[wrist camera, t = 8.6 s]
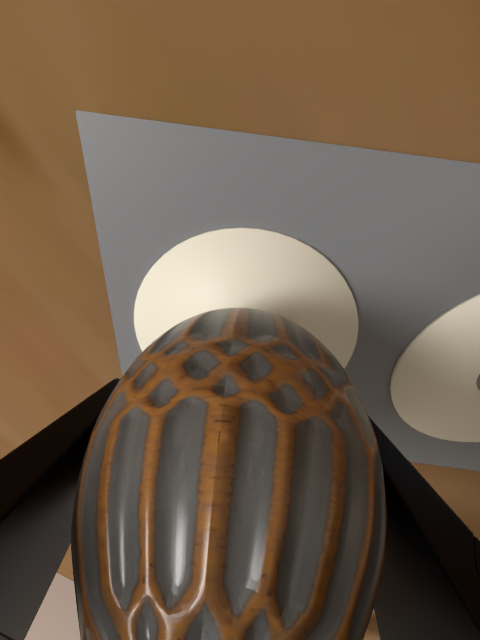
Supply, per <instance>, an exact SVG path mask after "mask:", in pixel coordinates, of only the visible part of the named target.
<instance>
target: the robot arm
mask: <svg viewBox="0 0 480 640" xmlns="http://www.w3.org/2000/svg"><path fill="white" fill-rule="evenodd" d="M119 381H120V379H119V378H116V379H114V380H112V381H111V382H109V383H108V384H106V385H105V386H104V387H102V388H101V389H99V390H98V391H97V392H95V393H94V394H92V395H91V396H89V397H88V398H87V399H85V400H84V401H82V402H81V403H80V404H78V405H77V406H75V407H74V408H72V409H71V410H70V411H68V412H67V413H65V414H64V415H63V416H61V417H60V418H58V419H57V420H55V421H54V422H53V423H51V424H50V425H48V426H47V427H46V428H44V429H43V430H41V431H40V432H38V433H37V434H36V435H34V436H33V437H31V438H30V439H29V440H27V441H26V442H24V443H23V444H22V445H20V446H19V447H17V448H16V449H14V450H13V451H12V452H10V453H9V454H7V455H6V456H5V457H3V458H2V459H0V640H24V639H25V637H26V635H27V632H28V631H29V628H30V626H31V624H32V622H33V620H34V618H35V616H36V614H37V612H38V609H39V608H40V606H41V604H42V601H43V599H44V597H45V595H46V593H47V591H48V589H49V587H50V585H51V583H52V581H53V579H54V576H55V574H56V572H57V570H58V568H59V566H60V564H61V562H62V560H63V558H64V556H65V554H66V552H67V550H68V547H69V545H70V543H71V525H72V516H73V506H74V499H75V494H76V489H77V483H78V479H79V475H80V471H81V467H82V463H83V459H84V456H85V452H86V449H87V446H88V443H89V440H90V437H91V434H92V431H93V429H94V427H95V424H96V422H97V419H98V417H99V415H100V413H101V411H102V409H103V407H104V405H105V404H106V402H107V400H108V398H109V396H110V395H111V393H112V392H113V390H114V389H115V387H116V385H117V384H118V382H119ZM368 417H369V416H368ZM369 420H370V422H371V425H372V428H373V431H374V434H375V437H376V441H377V444H378V448H379V452H380V457H381V462H382V467H383V476H384V485H385V494H386V512H387V534H386V550H385V561H384V568H383V573H382V578H381V583H380V588H379V591H378V594H377V598H376V601H375V604H374V612H375V616H376V621H377V626H378V630H379V635H380V640H480V541H479V540H478V538H477V537H474V535H473V533H472V532H471V531H470V530H469V528H468V527H467V526H466V525H465V524H464V523H463V522H462V521H461V519H460V518H459V517H458V516H457V515H456V514H455V513H454V512H453V510H452V509H451V508H450V507H449V506H448V505H447V504H446V502H445V501H444V500H443V499H442V498H441V497H440V496H439V495H438V493H437V492H436V491H435V490H434V489H433V488H432V487H431V486H430V484H429V483H428V482H427V481H426V480H425V479H424V478H423V477H422V475H421V474H420V473H419V472H418V471H417V470H416V469H415V468H414V466H413V465H412V464H411V463H410V462H409V461H408V460H407V459H406V457H405V456H404V455H403V454H402V453H401V452H400V451H399V450H398V448H397V447H396V446H395V445H394V444H393V443H392V442H391V440H390V439H389V438H388V437H387V436H386V435H385V434H384V433H383V431H382V430H381V429H380V428H379V427H378V426H377V425H376V424H375V422H374V421H373V420H372V419H371V418H370V417H369Z"/></svg>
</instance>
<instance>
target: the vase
mask: <svg viewBox="0 0 480 640" xmlns="http://www.w3.org/2000/svg"><path fill="white" fill-rule="evenodd" d="M386 534H387V512H386V494H385V485H384V476H383V467H382V462H381V457H380V452H379V448H378V444H377V441H376V437H375V434H374V431H373V428H372V425H371V422H370V420H369V417H368V415H367V412H366V410H365V407H364V405H363V403H362V400H361V398H360V396H359V394H358V392H357V390H356V388H355V386H354V384H353V382H352V380H351V379H350V377H349V375H348V374H347V373H346V371H345V370H344V368H343V367H342V366H341V364H340V363H339V362H338V360H337V359H336V358H335V356H334V355H333V354H332V353H331V352H330V351H329V350H328V349H327V348H326V347H325V346H324V345H323V344H322V343H321V342H320V341H319V340H318V339H317V338H316V337H315V336H313V335H312V334H311V333H310V332H308V331H307V330H305V329H304V328H302V327H301V326H299V325H298V324H296V323H295V322H293V321H291V320H289V319H287V318H285V317H282V316H280V315H277V314H274V313H271V312H267V311H263V310H257V309H250V308H225V309H217V310H212V311H208V312H204V313H201V314H198V315H196V316H194V317H191V318H189V319H187V320H185V321H183V322H181V323H179V324H177V325H175V326H174V327H172V328H171V329H169V330H168V331H166V332H165V333H164V334H162V335H161V336H159V337H158V338H157V339H156V340H154V341H153V342H152V343H151V344H150V345H149V346H148V347H147V348H146V349H145V350H144V351H143V352H142V353H141V354H140V355H139V356H138V357H137V358H136V359H135V360H134V362H133V363H132V364H131V366H130V367H129V368H128V370H127V371H126V372H125V373H124V375H123V376H122V378H121V379H120V381H119V382H118V384H117V385H116V387H115V389H114V390H113V392H112V393H111V395H110V396H109V398H108V400H107V402H106V404H105V405H104V407H103V409H102V411H101V413H100V415H99V417H98V419H97V422H96V424H95V427H94V429H93V431H92V434H91V437H90V440H89V443H88V446H87V449H86V452H85V456H84V459H83V463H82V467H81V471H80V475H79V479H78V483H77V489H76V494H75V499H74V506H73V516H72V525H71V552H72V564H73V575H74V584H75V593H76V603H77V612H78V620H79V628H80V637H81V640H363V639H364V636H365V633H366V630H367V627H368V624H369V621H370V617H371V614H372V611H373V608H374V604H375V601H376V598H377V594H378V591H379V588H380V583H381V578H382V573H383V568H384V561H385V550H386Z"/></svg>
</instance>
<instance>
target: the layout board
mask: <svg viewBox="0 0 480 640" xmlns="http://www.w3.org/2000/svg"><path fill="white" fill-rule="evenodd" d="M75 111H76V117H77V122H78V128H79V134H80V139H81V145H82V151H83V156H84V162H85V168H86V173H87V179H88V185H89V190H90V196H91V202H92V207H93V213H94V219H95V224H96V230H97V236H98V241H99V247H100V253H101V258H102V264H103V270H104V275H105V281H106V287H107V292H108V298H109V304H110V309H111V315H112V321H113V326H114V332H115V338H116V343H117V349H118V355H119V360H120V366H121V372H122V376H123V375H124V373H125V372H126V371H127V370H128V368H129V367H130V366H131V364H132V363H133V362H134V360H135V359H136V358H137V357H138V356H139V355H140V354H141V353H142V352H143V351H144V350H145V349H146V348H147V347H148V346H149V345H150V344H151V343H152V342H153V341H154V340H156V339H157V338H158V337H159V336H161V335H162V334H164V333H165V332H166V331H168V330H169V329H171V328H172V327H174V326H175V325H177V324H179V323H181V322H183V321H185V320H187V319H189V318H191V317H194V316H196V315H198V314H201V313H204V312H208V311H212V310H217V309H225V308H250V309H257V310H263V311H267V312H271V313H274V314H277V315H280V316H282V317H285V318H287V319H289V320H291V321H293V322H295V323H296V324H298V325H299V326H301V327H302V328H304V329H305V330H307V331H308V332H310V333H311V334H312V335H313V336H315V337H316V338H317V339H318V340H319V341H320V342H321V343H322V344H323V345H324V346H325V347H326V348H327V349H328V350H329V351H330V352H331V353H332V354H333V355H334V356H335V358H336V359H337V360H338V362H339V363H340V364H341V366H342V367H343V368H344V370H345V371H346V373H347V374H348V375H349V377H350V379H351V380H352V382H353V384H354V386H355V388H356V390H357V392H358V394H359V396H360V398H361V400H362V403H363V405H364V407H365V410H366V412H367V415H368V416H369V417H370V418H371V419H372V420H373V421H374V422H375V424H376V425H377V426H378V427H379V428H380V429H381V430H382V431H383V433H384V434H385V435H386V436H387V437H388V438H389V439H390V440H391V442H392V443H393V444H394V445H395V446H396V447H397V448H398V450H399V451H400V452H401V453H402V454H403V455H404V456H405V457H406V459H407V460H408V461H409V462H415V463H422V464H429V465H437V466H444V467H451V468H459V469H466V470H474V471H480V164H478V163H471V162H463V161H455V160H448V159H440V158H433V157H425V156H418V155H410V154H402V153H395V152H387V151H380V150H372V149H365V148H357V147H349V146H342V145H334V144H327V143H319V142H312V141H304V140H296V139H289V138H281V137H274V136H266V135H258V134H251V133H243V132H236V131H228V130H221V129H213V128H205V127H198V126H190V125H183V124H175V123H168V122H160V121H152V120H145V119H137V118H130V117H122V116H115V115H107V114H99V113H92V112H84V111H77V110H75Z"/></svg>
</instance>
